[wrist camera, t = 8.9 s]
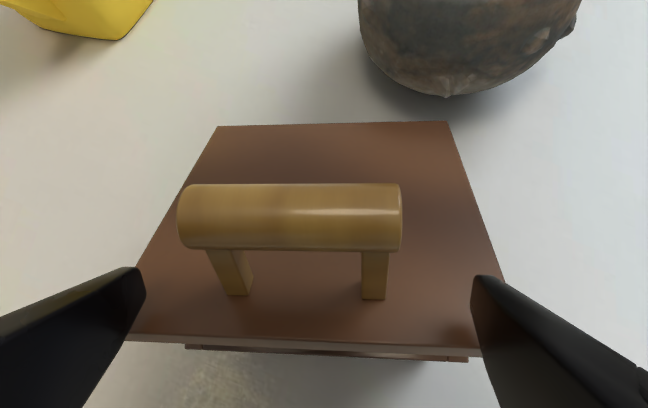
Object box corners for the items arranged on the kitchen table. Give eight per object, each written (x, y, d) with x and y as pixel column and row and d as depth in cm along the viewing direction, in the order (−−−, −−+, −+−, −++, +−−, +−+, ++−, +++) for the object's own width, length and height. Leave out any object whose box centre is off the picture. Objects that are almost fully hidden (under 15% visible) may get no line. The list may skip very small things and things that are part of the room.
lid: (523, 360, 9) (607, 252, 6) (106, 341, 10) (-2, 243, 7) (445, 130, 17) (463, 36, 14) (220, 135, 18) (192, 50, 15)
